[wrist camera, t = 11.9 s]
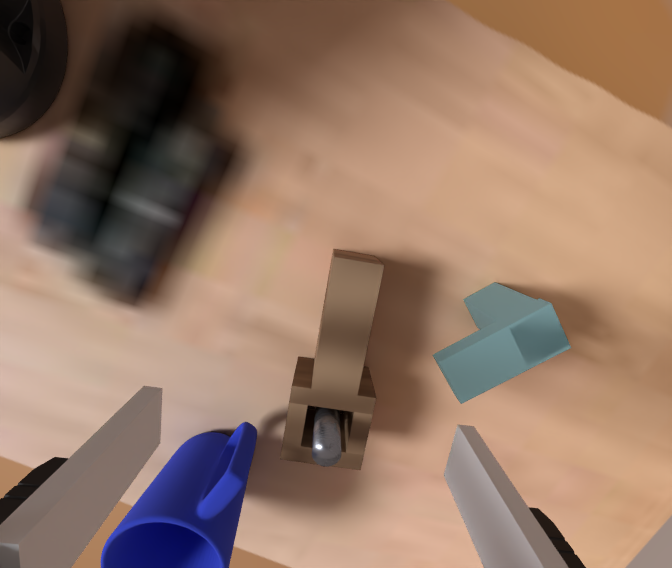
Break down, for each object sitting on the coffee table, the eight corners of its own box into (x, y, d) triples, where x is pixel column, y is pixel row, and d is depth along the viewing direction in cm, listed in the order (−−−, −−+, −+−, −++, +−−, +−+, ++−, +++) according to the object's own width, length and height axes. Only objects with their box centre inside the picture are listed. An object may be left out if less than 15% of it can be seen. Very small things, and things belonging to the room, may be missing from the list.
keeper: (410, 324, 28) (438, 362, 21) (493, 279, 28) (551, 303, 20) (428, 356, 29) (460, 403, 22) (509, 313, 28) (571, 347, 21)
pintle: (312, 386, 30) (306, 449, 22) (331, 376, 29) (332, 435, 22) (323, 403, 30) (321, 471, 22) (342, 393, 30) (346, 458, 22)
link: (316, 246, 27) (312, 253, 22) (391, 259, 27) (404, 268, 22) (288, 419, 30) (280, 459, 25) (355, 429, 31) (360, 470, 26)
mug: (300, 423, 30) (286, 522, 21) (226, 507, 32) (181, 635, 22) (228, 373, 29) (177, 454, 19) (155, 464, 31) (75, 579, 21)
